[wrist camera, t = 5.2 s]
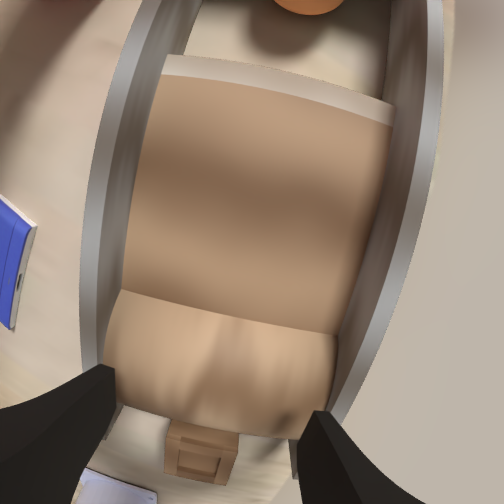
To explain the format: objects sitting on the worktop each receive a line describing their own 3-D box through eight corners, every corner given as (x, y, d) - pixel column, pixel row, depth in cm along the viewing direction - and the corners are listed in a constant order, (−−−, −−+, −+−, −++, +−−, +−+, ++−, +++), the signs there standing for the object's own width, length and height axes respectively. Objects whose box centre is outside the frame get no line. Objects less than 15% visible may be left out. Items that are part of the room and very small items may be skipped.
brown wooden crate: (228, 454, 17) (225, 485, 15) (172, 442, 17) (163, 472, 14) (239, 418, 17) (237, 452, 14) (176, 405, 16) (166, 437, 14)
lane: (292, 389, 21) (309, 493, 11) (138, 357, 20) (85, 447, 11) (381, 17, 15) (444, -54, 5) (219, -21, 14) (201, -112, 5)
